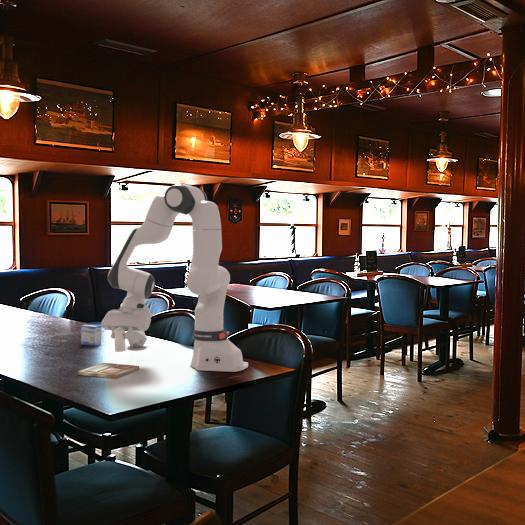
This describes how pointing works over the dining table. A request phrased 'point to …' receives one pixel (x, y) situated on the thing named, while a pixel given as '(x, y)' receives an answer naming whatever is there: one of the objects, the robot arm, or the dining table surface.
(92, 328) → the medicine box
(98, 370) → the board
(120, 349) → the salt shaker
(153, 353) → the dining table surface
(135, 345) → the die
